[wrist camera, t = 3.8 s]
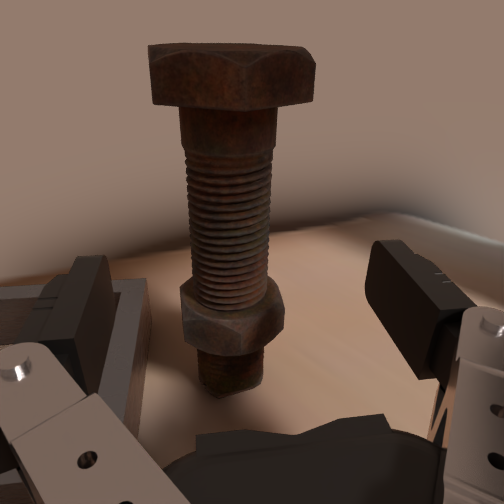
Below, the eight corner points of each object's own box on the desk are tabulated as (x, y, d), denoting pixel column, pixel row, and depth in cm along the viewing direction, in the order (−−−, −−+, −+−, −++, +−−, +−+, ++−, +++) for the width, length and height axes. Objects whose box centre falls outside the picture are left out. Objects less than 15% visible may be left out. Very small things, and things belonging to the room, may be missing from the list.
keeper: (151, 319, 24) (146, 278, 23) (127, 521, 14) (115, 471, 13) (-55, 335, 23) (-75, 291, 21) (-238, 571, 13) (-298, 520, 12)
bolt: (177, 346, 22) (148, 41, 15) (266, 335, 23) (279, 42, 16) (184, 438, 17) (146, 50, 10) (296, 418, 18) (336, 51, 11)
